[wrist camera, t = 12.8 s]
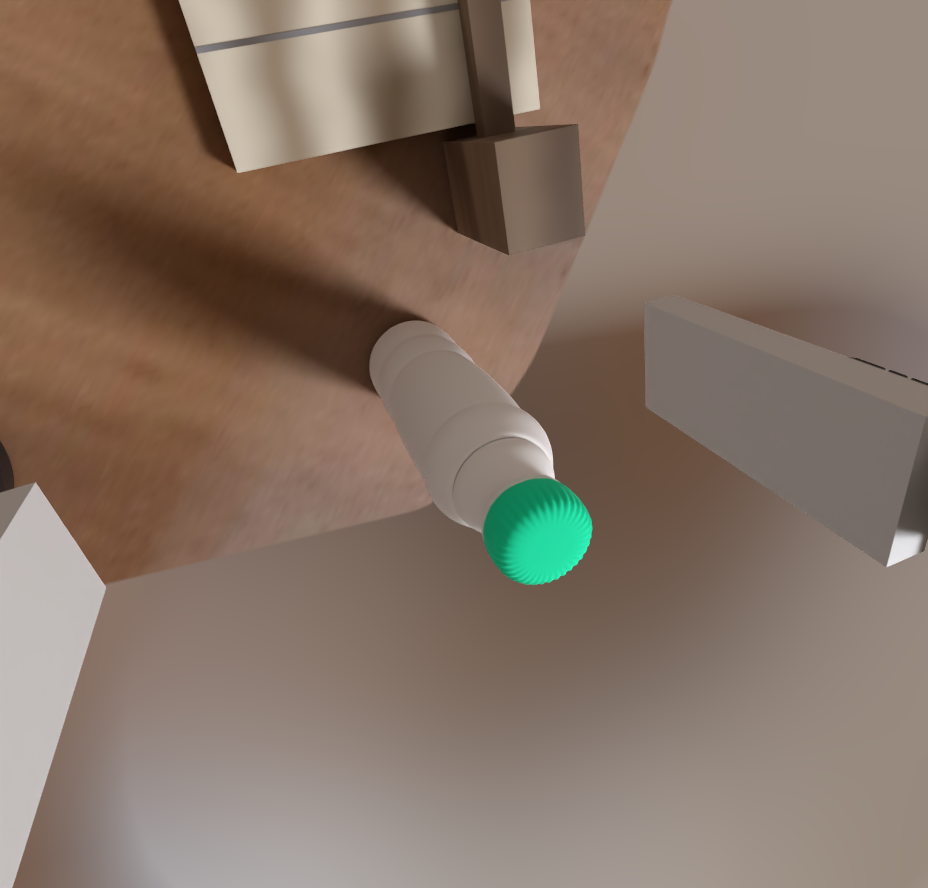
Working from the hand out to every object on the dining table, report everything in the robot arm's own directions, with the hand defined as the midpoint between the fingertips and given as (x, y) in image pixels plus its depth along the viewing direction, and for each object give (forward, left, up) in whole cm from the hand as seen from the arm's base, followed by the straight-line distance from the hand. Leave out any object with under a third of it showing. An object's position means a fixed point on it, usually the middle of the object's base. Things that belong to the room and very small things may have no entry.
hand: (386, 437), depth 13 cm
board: (+8, +10, -32) cm, 34 cm away
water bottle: (+6, -11, -32) cm, 34 cm away
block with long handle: (+14, +5, -32) cm, 35 cm away
